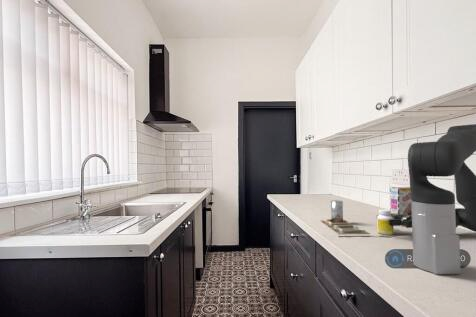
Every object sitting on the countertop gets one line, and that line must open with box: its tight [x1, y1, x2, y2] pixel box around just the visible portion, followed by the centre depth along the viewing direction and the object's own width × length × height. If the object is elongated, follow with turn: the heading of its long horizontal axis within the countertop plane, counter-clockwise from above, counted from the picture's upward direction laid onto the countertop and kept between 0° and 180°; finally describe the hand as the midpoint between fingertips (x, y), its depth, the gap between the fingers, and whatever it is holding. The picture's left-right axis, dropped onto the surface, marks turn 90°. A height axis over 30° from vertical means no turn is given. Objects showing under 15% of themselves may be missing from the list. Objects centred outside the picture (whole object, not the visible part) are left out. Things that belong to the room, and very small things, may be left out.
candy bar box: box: [389, 186, 412, 215], centre depth 121 cm, size 11×5×16 cm, turn 108°
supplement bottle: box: [376, 209, 395, 238], centre depth 97 cm, size 5×5×10 cm
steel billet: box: [330, 199, 344, 223], centre depth 114 cm, size 5×5×10 cm
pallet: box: [320, 218, 372, 238], centre depth 108 cm, size 24×12×2 cm, turn 179°
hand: (383, 220), depth 97 cm, fingers open, 8 cm apart
